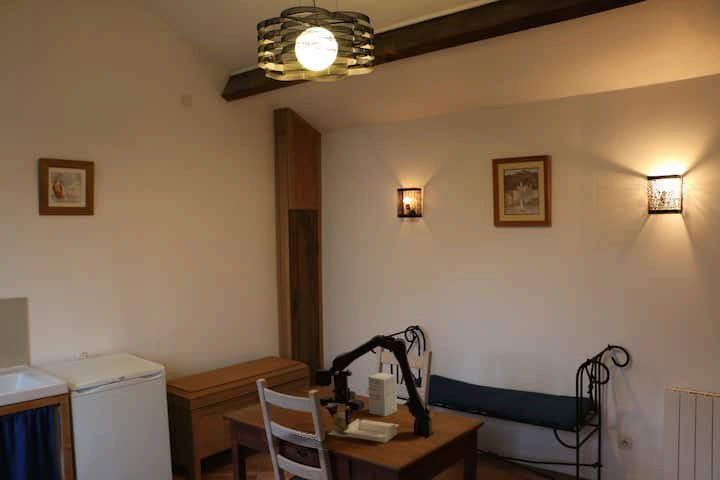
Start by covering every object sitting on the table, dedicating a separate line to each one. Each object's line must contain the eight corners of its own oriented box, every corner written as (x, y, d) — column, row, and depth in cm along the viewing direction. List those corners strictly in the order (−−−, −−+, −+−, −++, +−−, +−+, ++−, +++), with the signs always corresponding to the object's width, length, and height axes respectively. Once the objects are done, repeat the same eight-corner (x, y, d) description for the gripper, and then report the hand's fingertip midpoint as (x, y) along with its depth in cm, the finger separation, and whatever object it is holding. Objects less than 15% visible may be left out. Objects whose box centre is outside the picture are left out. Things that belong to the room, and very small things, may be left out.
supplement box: (381, 408, 281) (380, 372, 281) (397, 411, 276) (396, 374, 275) (368, 413, 274) (367, 376, 274) (385, 416, 268) (383, 379, 268)
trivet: (357, 431, 250) (357, 430, 250) (346, 438, 242) (346, 437, 242) (338, 428, 254) (338, 427, 254) (327, 435, 246) (327, 433, 246)
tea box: (350, 429, 249) (350, 412, 249) (344, 433, 245) (344, 415, 244) (340, 427, 252) (339, 410, 251) (333, 431, 247) (333, 414, 247)
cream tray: (399, 433, 246) (399, 421, 246) (382, 446, 232) (381, 433, 232) (362, 427, 255) (362, 415, 254) (343, 440, 240) (343, 427, 240)
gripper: (370, 383, 250) (371, 420, 251) (331, 379, 259) (332, 415, 260) (357, 390, 241) (358, 429, 241) (317, 385, 249) (318, 423, 250)
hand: (342, 424), depth 248 cm, fingers open, 5 cm apart
